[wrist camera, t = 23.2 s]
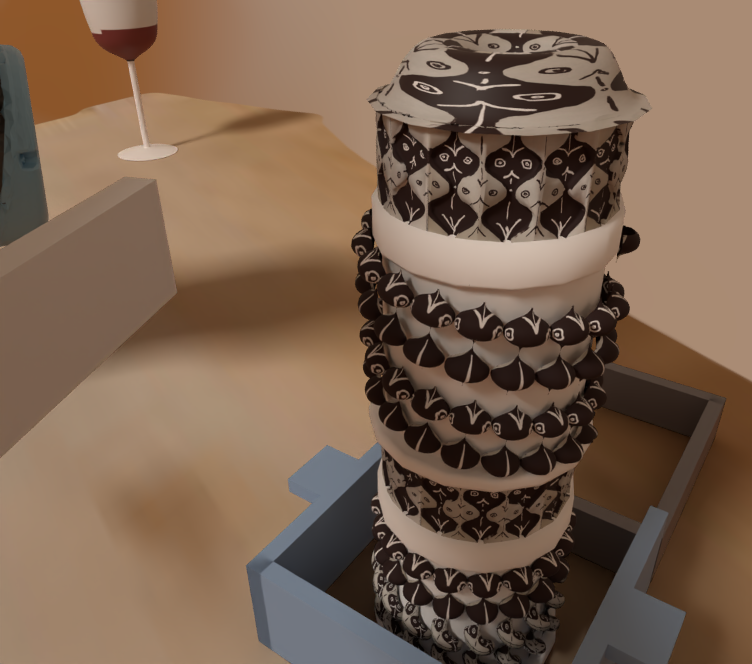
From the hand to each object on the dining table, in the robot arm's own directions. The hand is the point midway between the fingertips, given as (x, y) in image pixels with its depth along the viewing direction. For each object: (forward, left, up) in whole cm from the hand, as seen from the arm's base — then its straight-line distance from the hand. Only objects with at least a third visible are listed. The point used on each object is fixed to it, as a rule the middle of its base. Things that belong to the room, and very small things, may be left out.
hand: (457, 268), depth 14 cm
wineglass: (+50, +77, -22) cm, 95 cm away
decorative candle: (+8, +3, -22) cm, 24 cm away
